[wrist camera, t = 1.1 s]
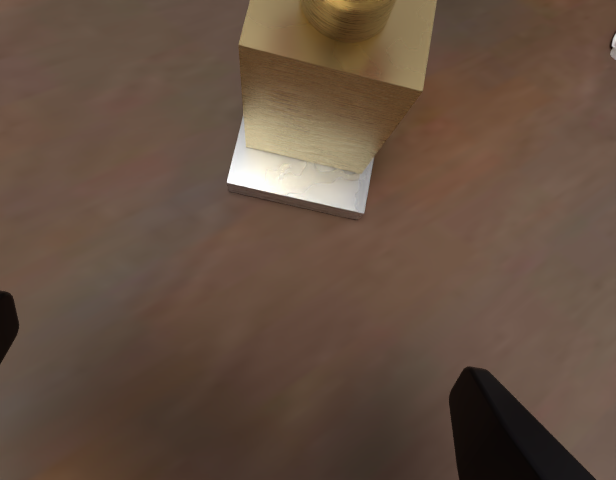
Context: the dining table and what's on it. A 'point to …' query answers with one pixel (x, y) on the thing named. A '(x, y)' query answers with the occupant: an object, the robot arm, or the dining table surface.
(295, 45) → the valve
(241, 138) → the grey ball socket brick
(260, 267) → the dining table surface
